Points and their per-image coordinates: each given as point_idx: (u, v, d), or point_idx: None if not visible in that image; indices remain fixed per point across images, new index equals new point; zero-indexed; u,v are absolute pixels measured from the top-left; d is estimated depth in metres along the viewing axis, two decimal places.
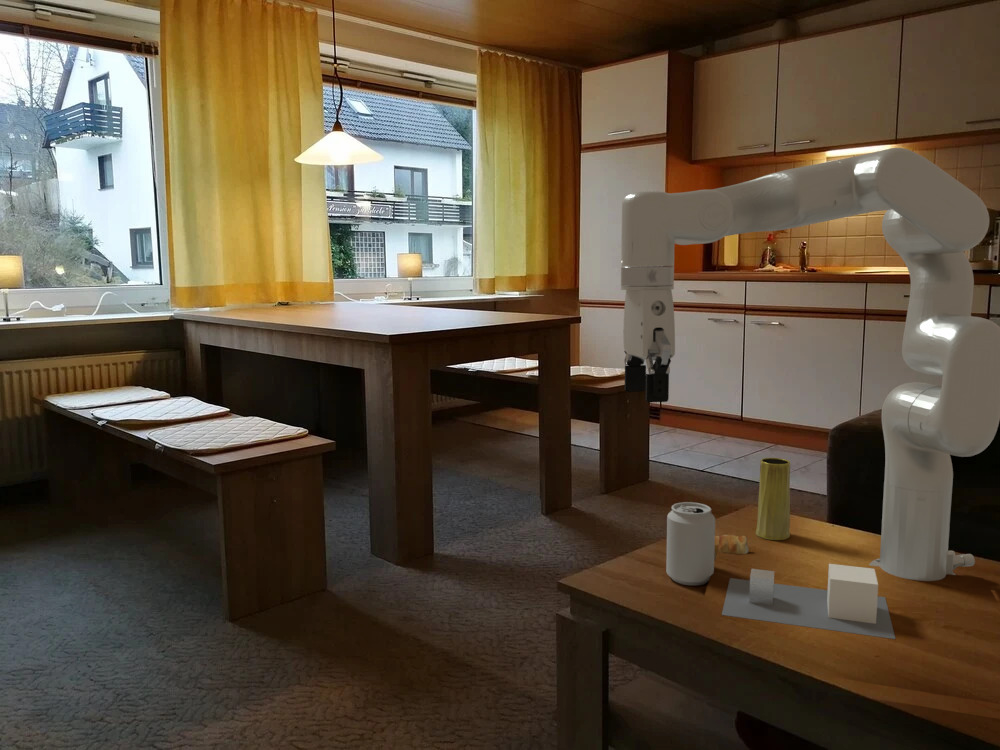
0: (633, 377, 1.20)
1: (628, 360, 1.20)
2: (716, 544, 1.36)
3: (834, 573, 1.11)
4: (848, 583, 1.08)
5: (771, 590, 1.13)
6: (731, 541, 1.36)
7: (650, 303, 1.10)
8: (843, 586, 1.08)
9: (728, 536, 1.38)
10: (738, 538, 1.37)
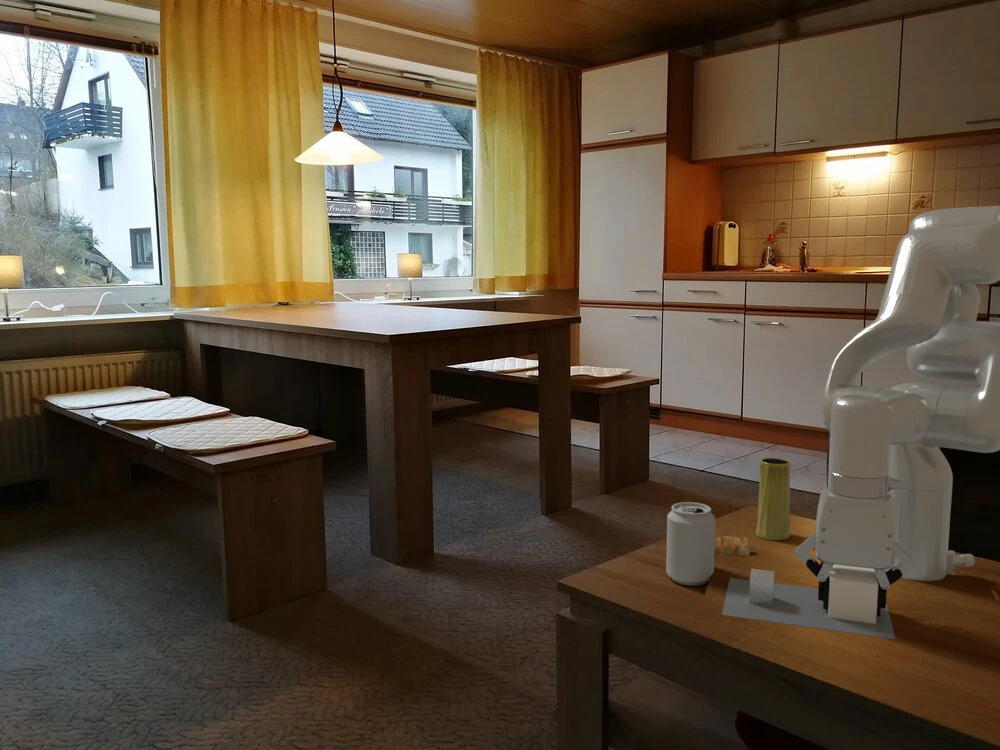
0: None
1: (828, 574, 1.11)
2: (718, 546, 1.35)
3: (834, 573, 1.11)
4: (848, 583, 1.08)
5: (771, 590, 1.13)
6: (733, 542, 1.35)
7: (893, 512, 1.07)
8: (843, 586, 1.08)
9: (729, 538, 1.37)
10: (739, 539, 1.36)
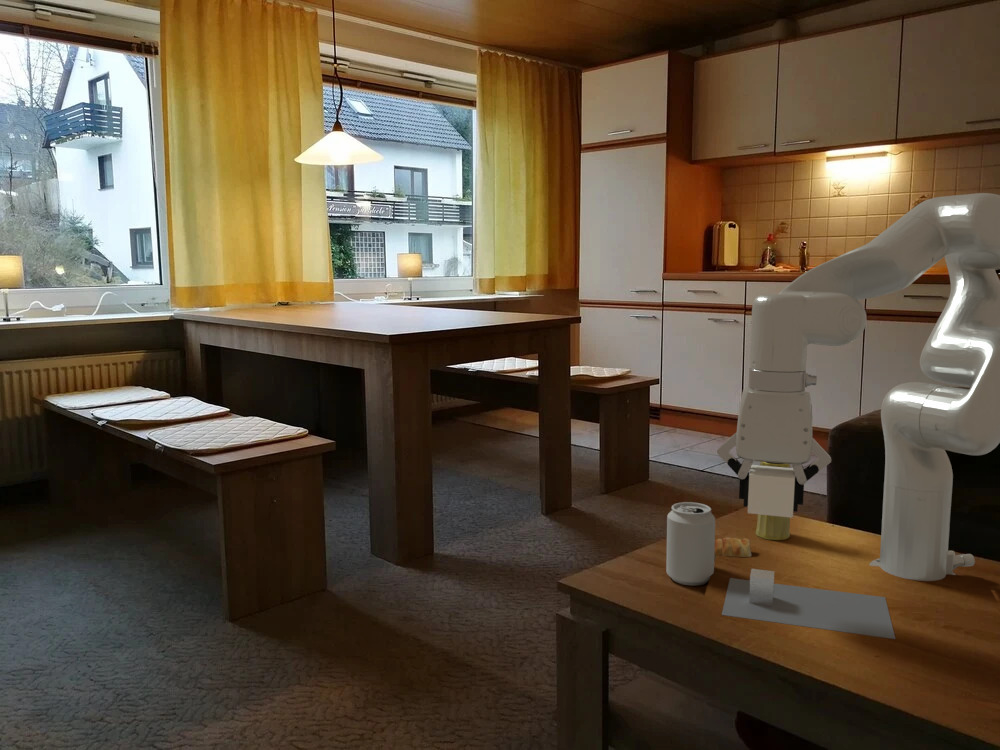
0: None
1: (748, 471, 1.12)
2: (719, 547, 1.34)
3: (754, 470, 1.13)
4: (766, 478, 1.10)
5: (771, 590, 1.13)
6: (734, 543, 1.34)
7: (810, 407, 1.09)
8: (761, 481, 1.10)
9: (731, 539, 1.36)
10: (741, 541, 1.36)
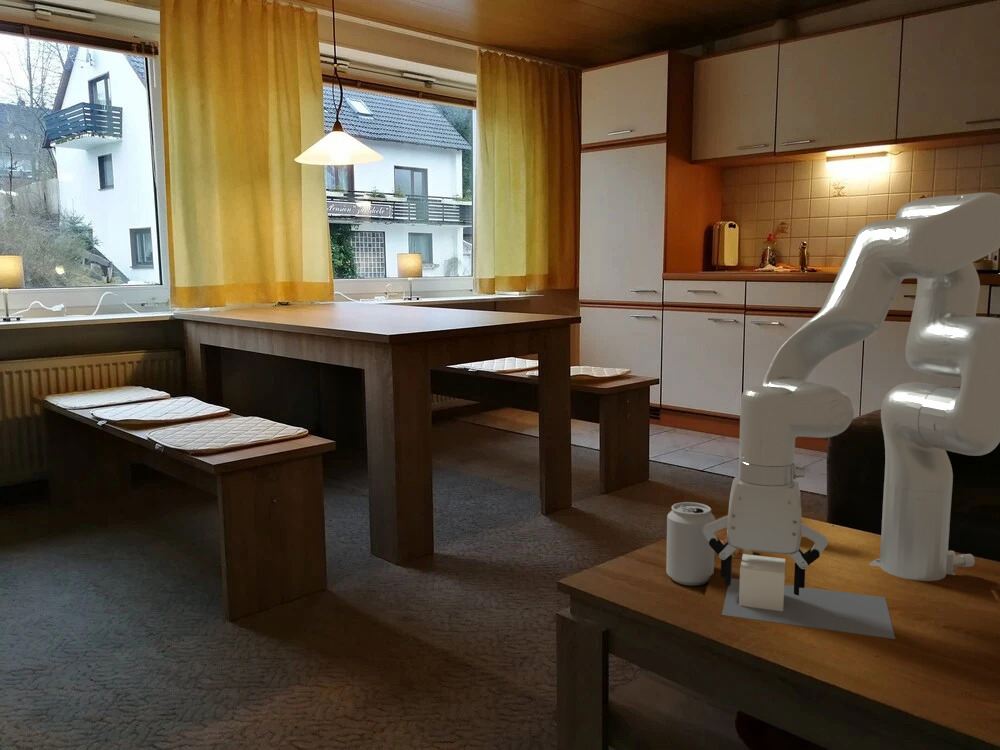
0: (730, 570, 1.16)
1: (729, 554, 1.15)
2: None
3: (745, 562, 1.15)
4: (757, 572, 1.12)
5: None
6: None
7: (799, 499, 1.11)
8: (752, 575, 1.13)
9: None
10: None
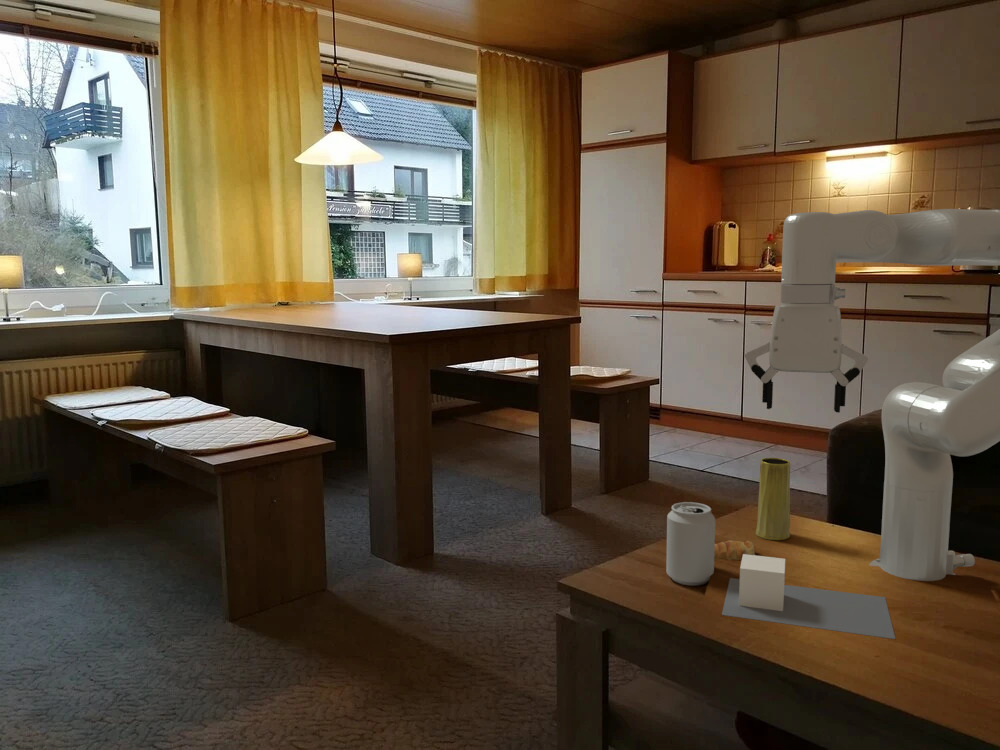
0: None
1: (771, 377, 1.20)
2: (724, 551, 1.33)
3: (745, 562, 1.15)
4: (757, 572, 1.12)
5: None
6: (738, 547, 1.33)
7: (840, 318, 1.16)
8: (752, 575, 1.13)
9: (734, 542, 1.35)
10: (744, 544, 1.34)
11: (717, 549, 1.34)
